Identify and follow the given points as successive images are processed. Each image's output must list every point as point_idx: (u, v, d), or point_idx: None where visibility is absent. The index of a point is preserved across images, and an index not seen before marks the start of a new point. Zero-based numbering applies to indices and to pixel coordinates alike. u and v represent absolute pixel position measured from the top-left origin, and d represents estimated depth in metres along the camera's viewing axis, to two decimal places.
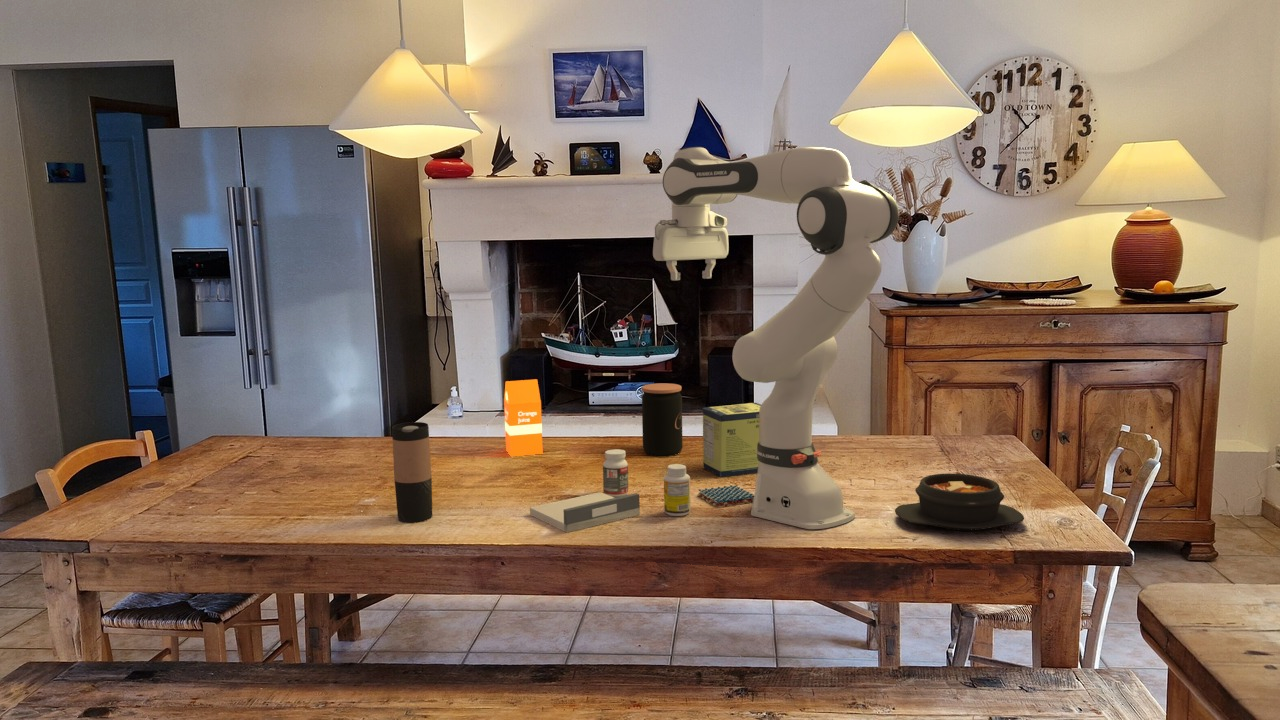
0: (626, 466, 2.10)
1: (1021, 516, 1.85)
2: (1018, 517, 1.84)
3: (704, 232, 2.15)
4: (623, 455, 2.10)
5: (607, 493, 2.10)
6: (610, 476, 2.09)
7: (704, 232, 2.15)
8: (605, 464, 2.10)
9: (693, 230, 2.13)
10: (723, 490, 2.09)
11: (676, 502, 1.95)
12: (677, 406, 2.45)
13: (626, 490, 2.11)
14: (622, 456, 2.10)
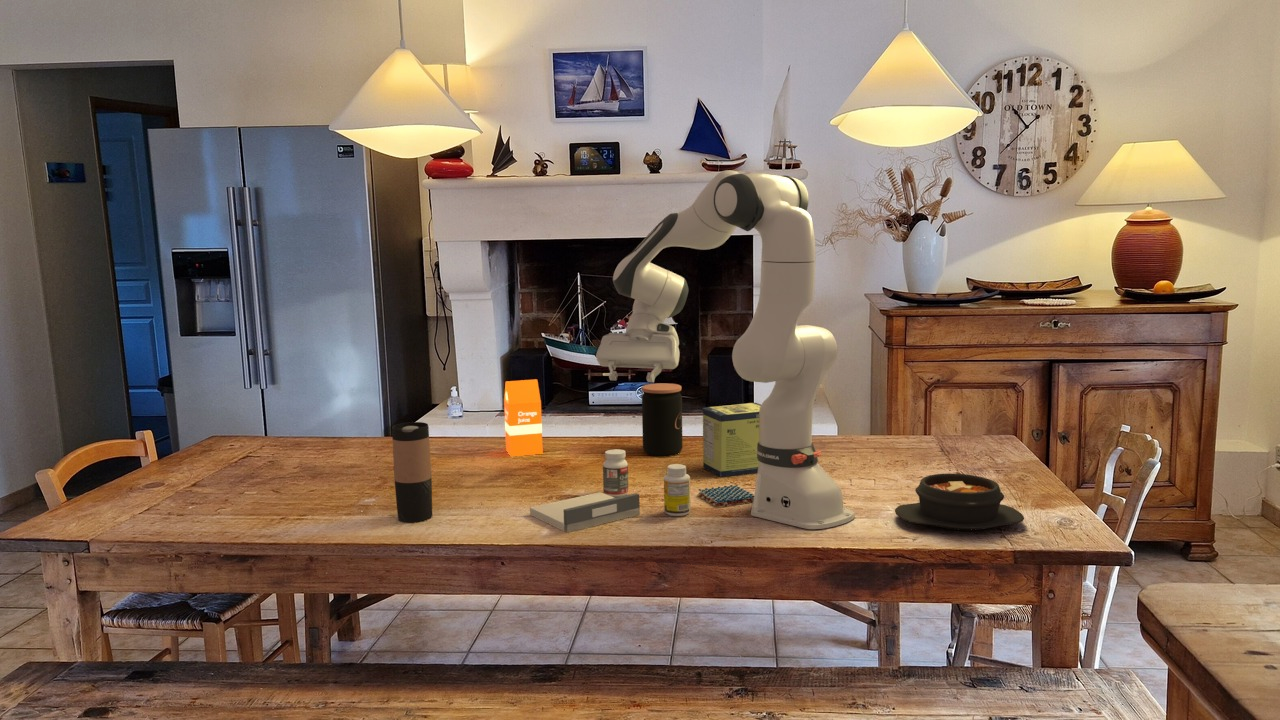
0: (626, 466, 2.10)
1: (1021, 516, 1.85)
2: (1018, 517, 1.84)
3: (645, 338, 2.24)
4: (623, 455, 2.10)
5: (607, 493, 2.10)
6: (610, 476, 2.09)
7: (646, 338, 2.24)
8: (605, 464, 2.10)
9: (632, 335, 2.25)
10: (723, 490, 2.09)
11: (676, 501, 1.95)
12: (677, 406, 2.45)
13: (626, 490, 2.11)
14: (622, 456, 2.10)
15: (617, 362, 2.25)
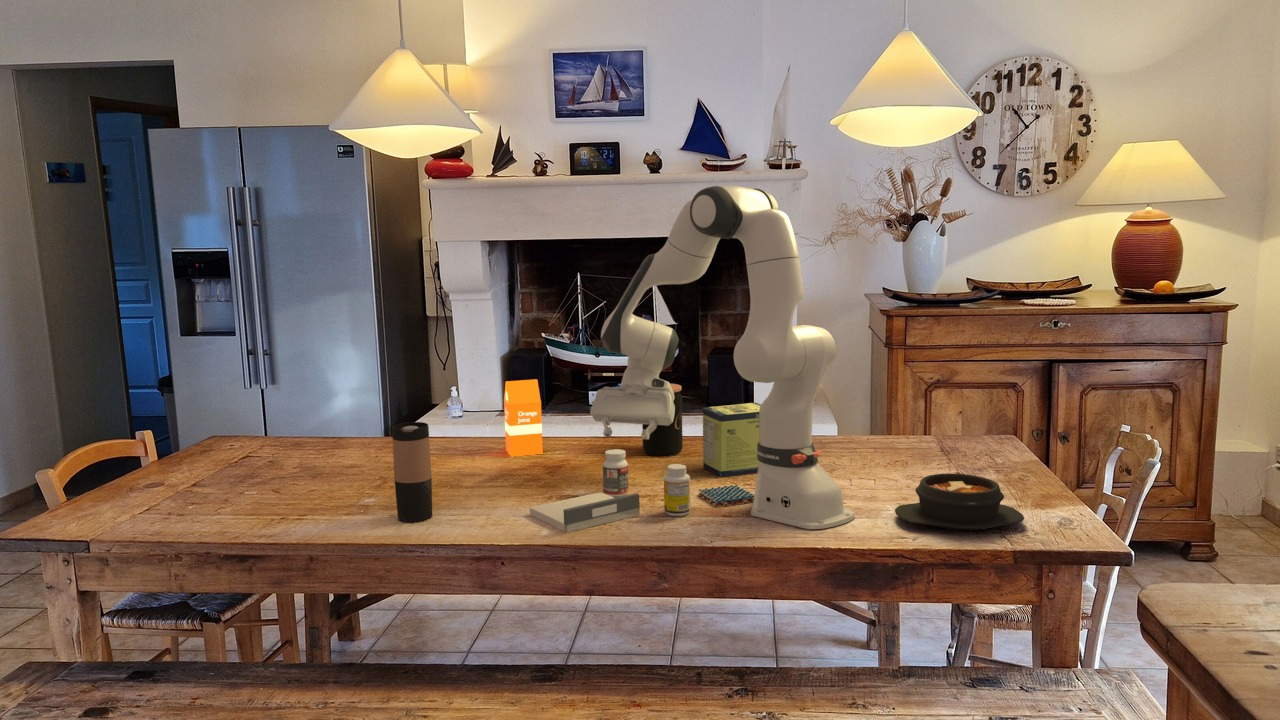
0: (626, 466, 2.10)
1: (1021, 516, 1.85)
2: (1018, 517, 1.84)
3: (640, 393, 2.21)
4: (623, 455, 2.10)
5: (607, 493, 2.10)
6: (610, 476, 2.09)
7: (641, 393, 2.21)
8: (605, 464, 2.10)
9: (627, 390, 2.23)
10: (723, 490, 2.09)
11: (676, 502, 1.95)
12: (677, 406, 2.45)
13: (626, 490, 2.11)
14: (622, 456, 2.10)
15: (612, 418, 2.22)
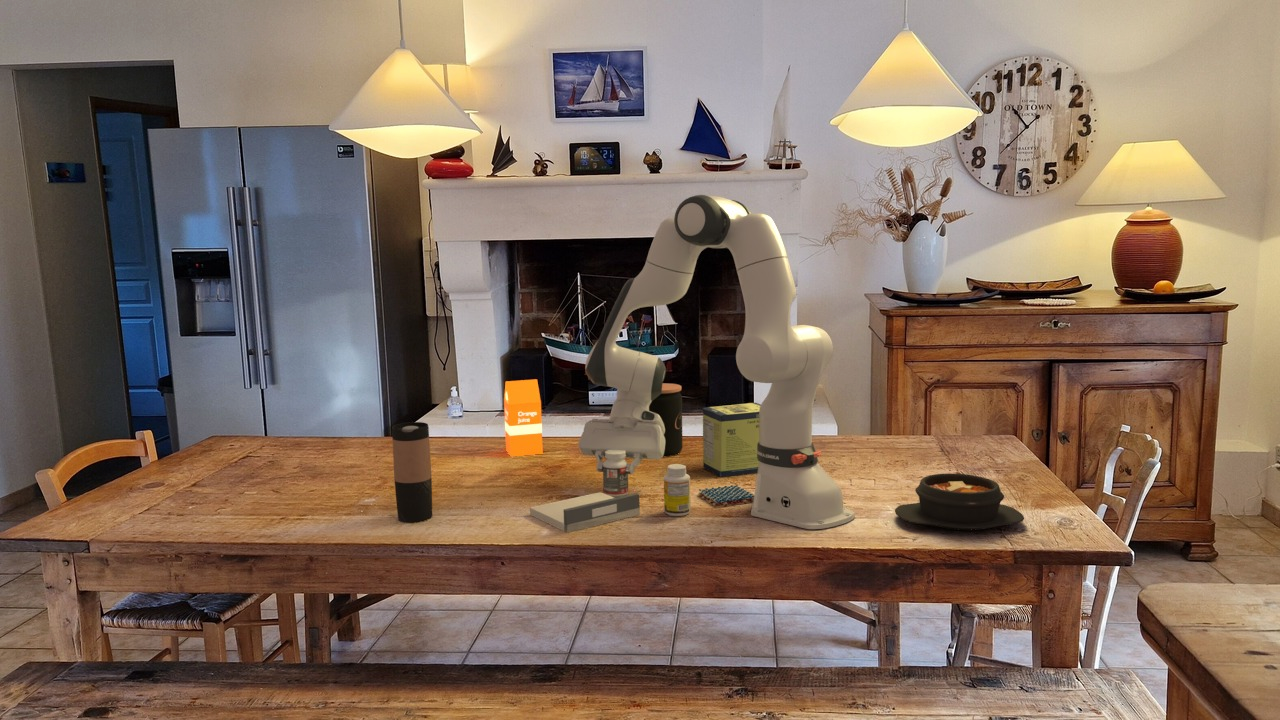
0: (626, 466, 2.10)
1: (1021, 516, 1.85)
2: (1018, 517, 1.84)
3: (629, 426, 2.15)
4: (623, 455, 2.10)
5: (607, 493, 2.10)
6: (610, 476, 2.09)
7: (631, 426, 2.15)
8: (605, 464, 2.10)
9: (616, 422, 2.16)
10: (723, 490, 2.09)
11: (676, 501, 1.95)
12: (677, 406, 2.45)
13: (626, 490, 2.11)
14: (622, 456, 2.10)
15: None
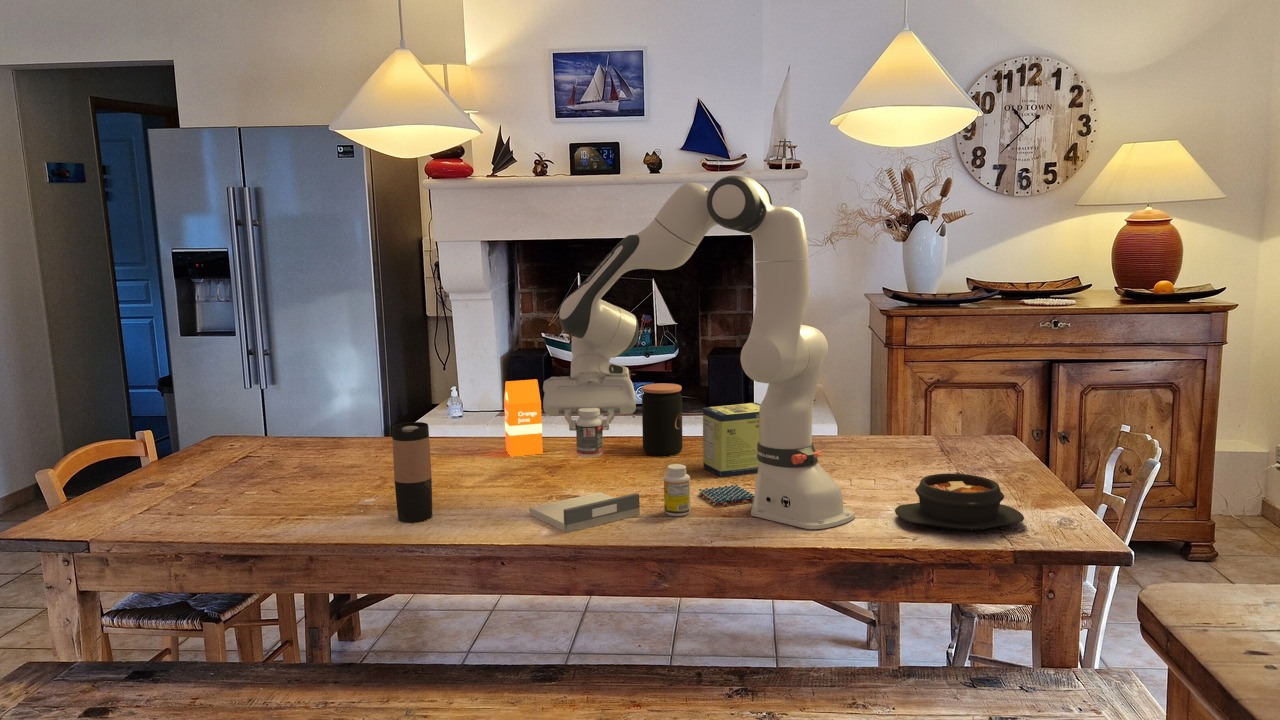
0: None
1: (1021, 516, 1.85)
2: (1018, 517, 1.84)
3: (597, 381, 2.04)
4: (599, 412, 1.99)
5: (584, 453, 1.99)
6: (587, 435, 1.98)
7: (598, 381, 2.04)
8: (581, 423, 1.98)
9: (582, 378, 2.04)
10: (723, 490, 2.09)
11: (676, 501, 1.95)
12: (677, 406, 2.45)
13: (602, 449, 2.01)
14: (598, 413, 1.99)
15: (573, 410, 2.03)
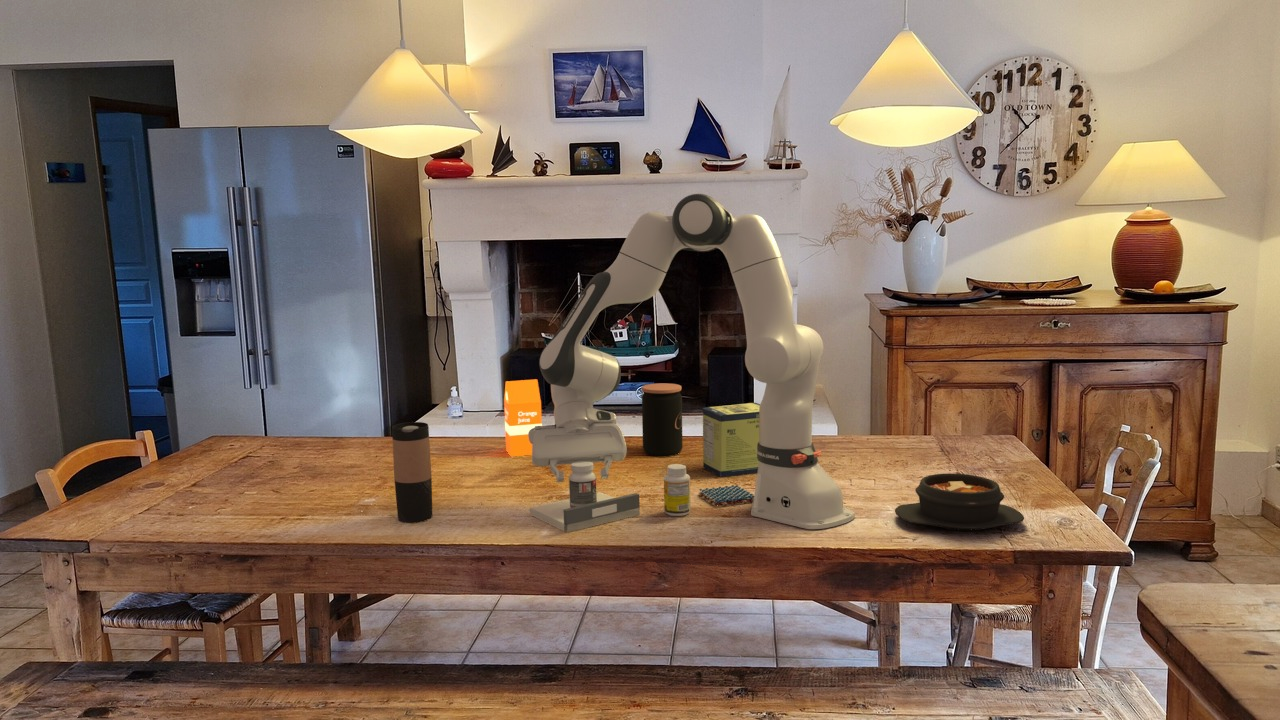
0: (595, 477, 1.95)
1: (1021, 516, 1.85)
2: (1018, 517, 1.84)
3: (586, 429, 1.99)
4: None
5: None
6: (583, 491, 1.93)
7: (587, 429, 1.99)
8: (576, 478, 1.93)
9: (570, 427, 1.99)
10: (724, 490, 2.09)
11: (676, 502, 1.95)
12: (677, 406, 2.45)
13: None
14: (592, 467, 1.94)
15: (558, 460, 1.97)
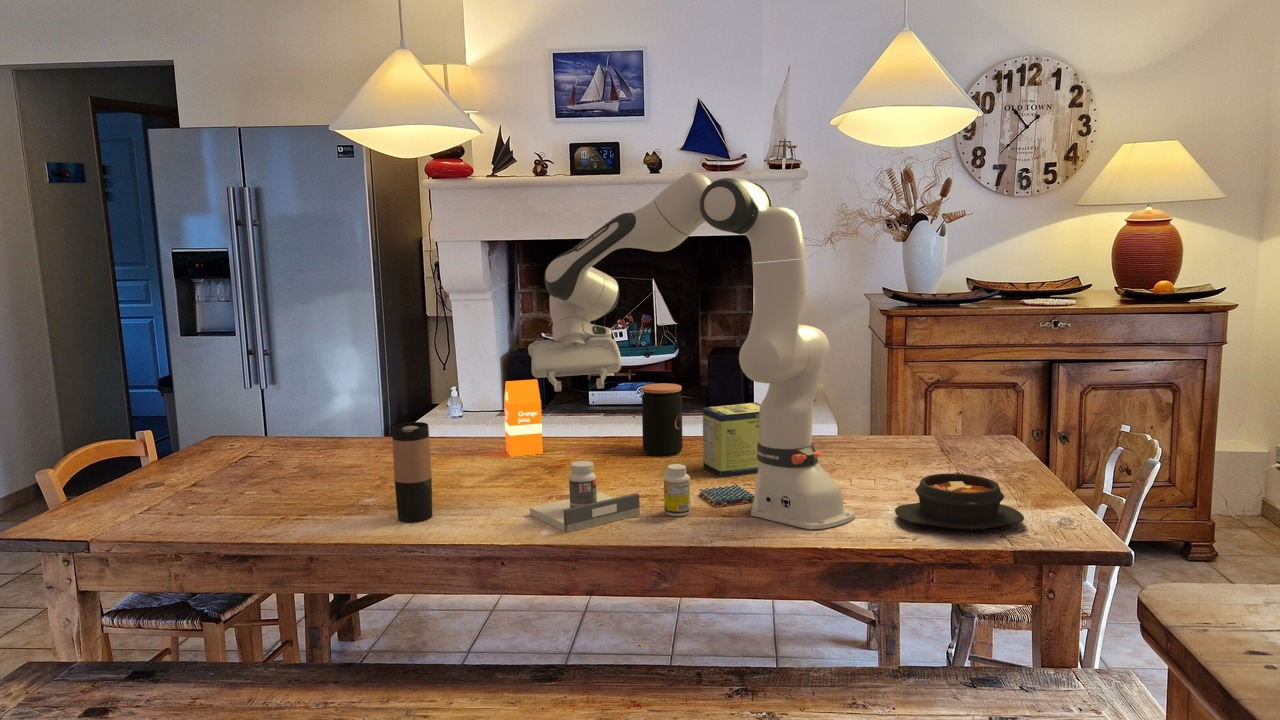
0: (595, 477, 1.95)
1: (1021, 516, 1.85)
2: (1018, 517, 1.84)
3: (583, 342, 2.10)
4: None
5: None
6: (583, 491, 1.93)
7: (583, 342, 2.10)
8: (576, 478, 1.93)
9: (567, 340, 2.09)
10: (724, 490, 2.09)
11: (676, 502, 1.95)
12: (677, 406, 2.45)
13: None
14: (592, 467, 1.94)
15: (556, 371, 2.07)
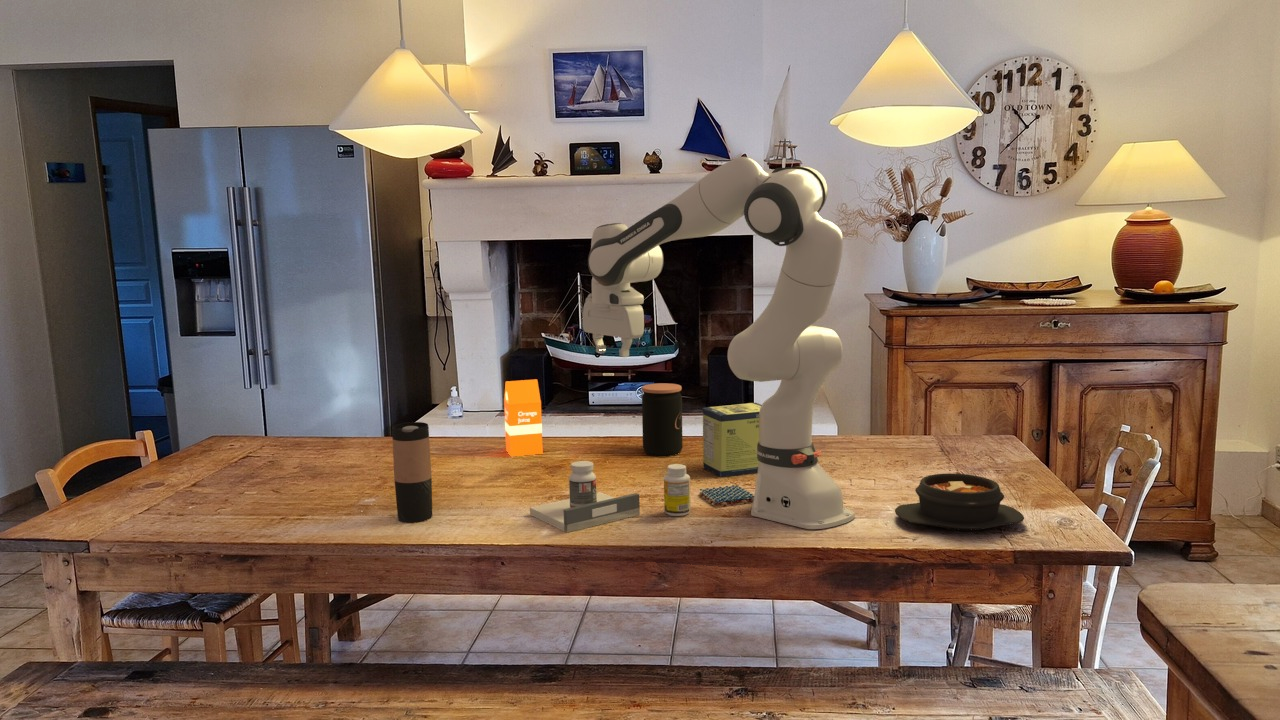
0: (595, 477, 1.95)
1: (1021, 516, 1.85)
2: (1018, 517, 1.84)
3: (606, 310, 2.11)
4: None
5: None
6: (583, 491, 1.93)
7: (608, 309, 2.11)
8: (576, 478, 1.93)
9: (597, 306, 2.13)
10: (724, 490, 2.09)
11: (676, 501, 1.95)
12: (677, 406, 2.45)
13: None
14: (592, 467, 1.94)
15: None
